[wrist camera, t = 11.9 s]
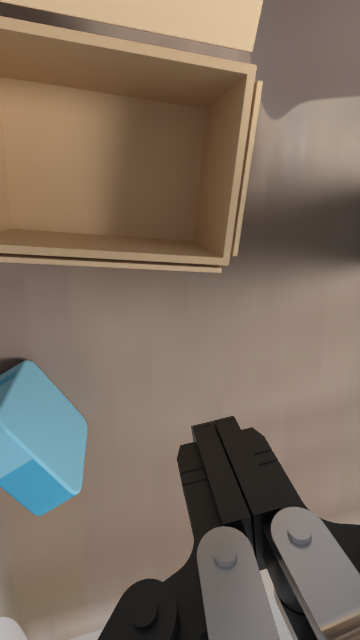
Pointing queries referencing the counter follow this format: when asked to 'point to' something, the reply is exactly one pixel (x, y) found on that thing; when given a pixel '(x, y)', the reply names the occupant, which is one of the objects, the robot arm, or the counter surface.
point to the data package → (39, 440)
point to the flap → (168, 17)
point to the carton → (121, 151)
